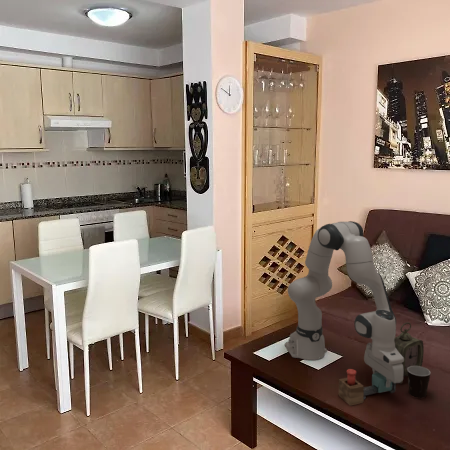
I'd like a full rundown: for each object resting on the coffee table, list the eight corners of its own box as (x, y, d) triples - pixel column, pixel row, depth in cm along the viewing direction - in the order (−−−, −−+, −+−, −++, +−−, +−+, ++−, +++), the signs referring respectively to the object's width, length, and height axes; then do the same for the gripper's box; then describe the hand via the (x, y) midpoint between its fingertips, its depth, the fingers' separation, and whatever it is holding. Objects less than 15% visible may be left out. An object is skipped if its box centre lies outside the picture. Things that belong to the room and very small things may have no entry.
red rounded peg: (344, 383, 185) (345, 369, 184) (352, 381, 186) (352, 368, 185) (349, 387, 181) (350, 374, 180) (357, 386, 182) (358, 372, 181)
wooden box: (338, 395, 187) (339, 379, 186) (351, 392, 189) (351, 376, 188) (350, 405, 180) (350, 389, 179) (363, 402, 182) (363, 386, 181)
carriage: (371, 387, 190) (372, 374, 189) (383, 384, 192) (384, 371, 191) (379, 393, 186) (380, 379, 185) (391, 390, 188) (392, 377, 187)
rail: (355, 394, 187) (355, 381, 186) (389, 387, 193) (390, 373, 192) (361, 399, 184) (361, 385, 183) (396, 392, 189) (396, 378, 188)
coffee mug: (410, 386, 193) (411, 363, 192) (431, 392, 188) (433, 369, 186) (400, 398, 185) (401, 374, 183) (423, 405, 179) (424, 381, 177)
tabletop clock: (401, 386, 193) (403, 329, 189) (383, 377, 201) (385, 323, 197) (422, 376, 201) (425, 322, 197) (404, 368, 209) (406, 315, 204)
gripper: (360, 342, 195) (360, 372, 197) (393, 362, 176) (392, 396, 178) (373, 339, 197) (372, 370, 199) (407, 360, 178) (405, 393, 180)
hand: (381, 382), depth 188 cm, fingers closed on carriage, 5 cm apart
